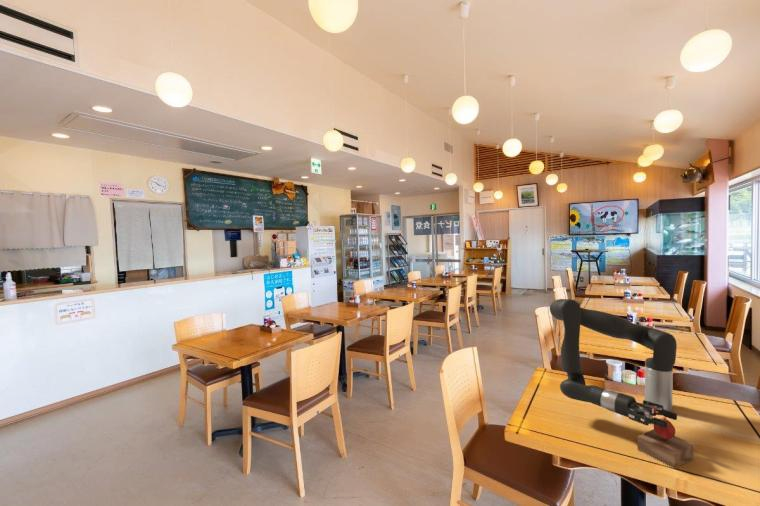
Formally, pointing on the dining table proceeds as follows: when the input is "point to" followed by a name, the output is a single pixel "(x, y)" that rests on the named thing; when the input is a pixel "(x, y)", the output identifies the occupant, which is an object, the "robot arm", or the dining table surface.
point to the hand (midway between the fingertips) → (672, 421)
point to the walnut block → (665, 448)
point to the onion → (665, 430)
